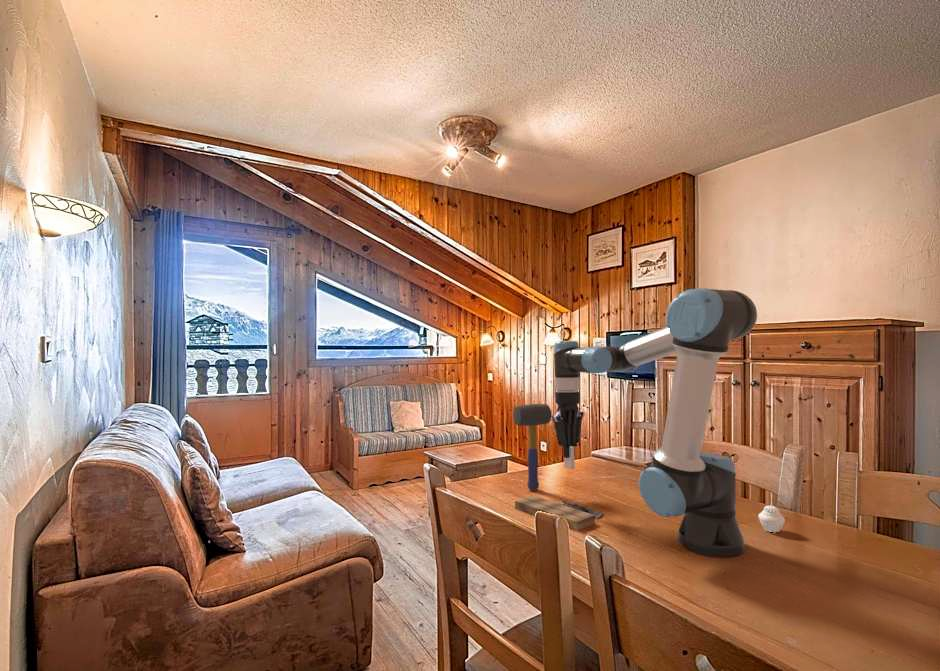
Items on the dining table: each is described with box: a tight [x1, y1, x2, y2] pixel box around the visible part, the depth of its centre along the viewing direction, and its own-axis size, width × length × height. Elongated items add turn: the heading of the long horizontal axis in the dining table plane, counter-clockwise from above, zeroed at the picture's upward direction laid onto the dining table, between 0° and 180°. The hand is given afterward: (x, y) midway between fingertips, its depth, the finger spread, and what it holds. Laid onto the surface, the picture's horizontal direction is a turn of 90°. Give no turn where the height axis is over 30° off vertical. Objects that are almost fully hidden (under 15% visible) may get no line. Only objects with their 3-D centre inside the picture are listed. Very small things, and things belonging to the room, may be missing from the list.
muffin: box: [758, 504, 786, 533], centre depth 134 cm, size 6×6×7 cm
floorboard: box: [514, 495, 596, 532], centre depth 147 cm, size 24×8×2 cm, turn 40°
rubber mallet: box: [512, 403, 553, 492], centre depth 173 cm, size 12×8×30 cm, turn 111°
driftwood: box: [562, 500, 604, 520], centre depth 153 cm, size 21×7×2 cm, turn 37°
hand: (569, 467), depth 152 cm, fingers closed
